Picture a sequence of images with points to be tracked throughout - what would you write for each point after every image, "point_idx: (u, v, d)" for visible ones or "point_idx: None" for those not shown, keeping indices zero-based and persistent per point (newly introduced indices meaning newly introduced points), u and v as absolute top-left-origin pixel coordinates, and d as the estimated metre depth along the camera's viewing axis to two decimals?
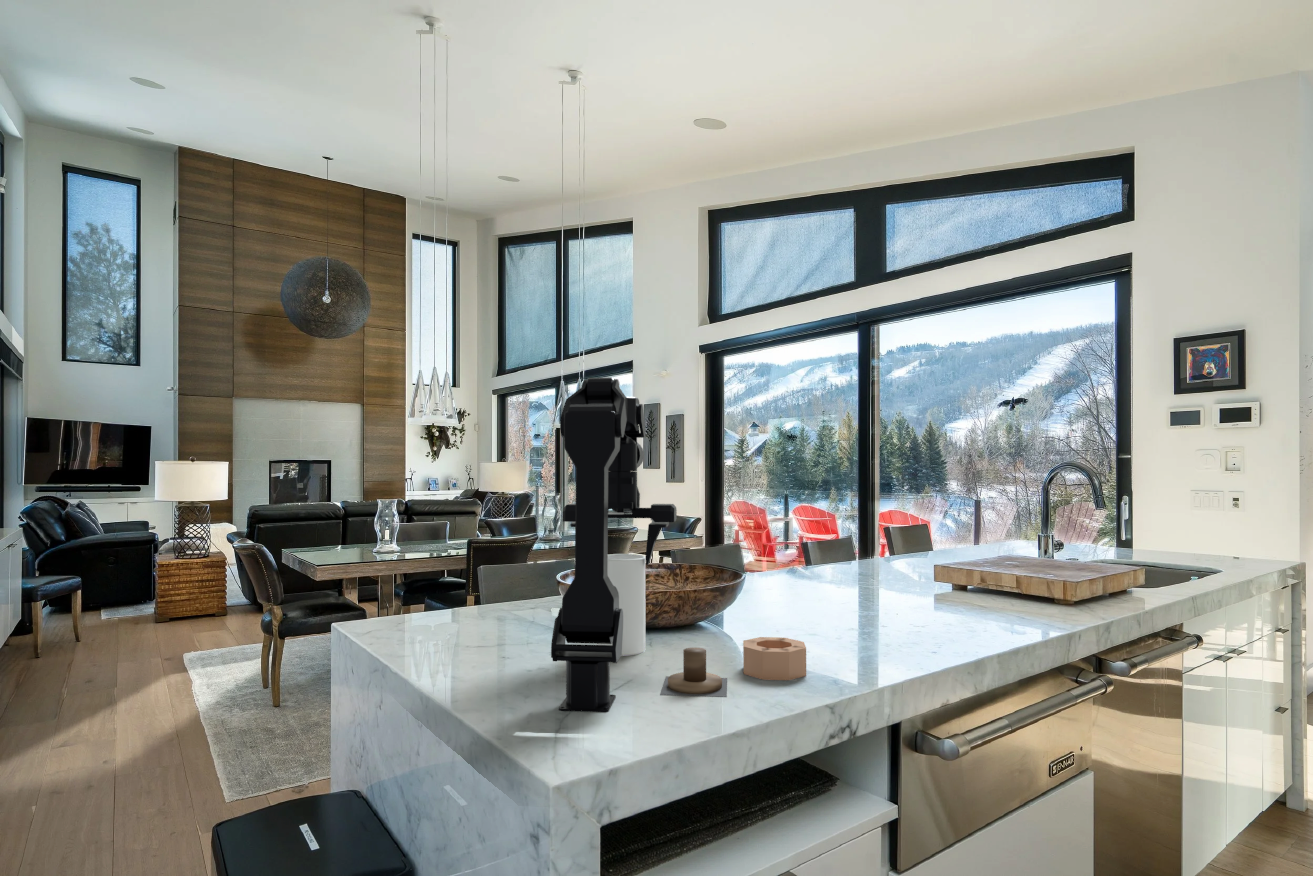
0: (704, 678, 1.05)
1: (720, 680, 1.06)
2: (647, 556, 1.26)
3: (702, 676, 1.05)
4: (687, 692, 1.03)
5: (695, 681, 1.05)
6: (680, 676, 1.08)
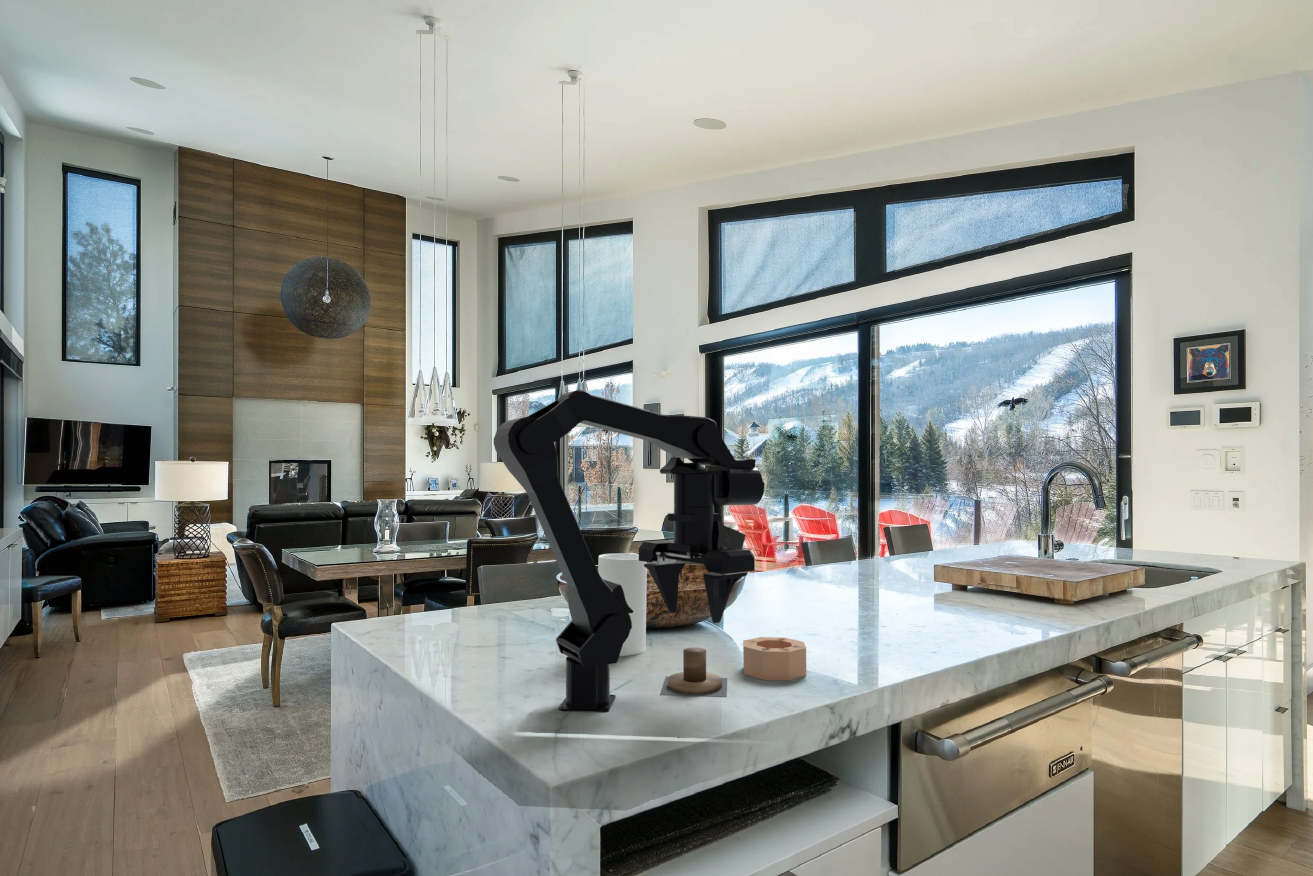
0: (704, 678, 1.05)
1: (720, 680, 1.06)
2: (711, 612, 1.02)
3: (702, 676, 1.05)
4: (687, 692, 1.03)
5: (695, 681, 1.05)
6: (680, 676, 1.08)
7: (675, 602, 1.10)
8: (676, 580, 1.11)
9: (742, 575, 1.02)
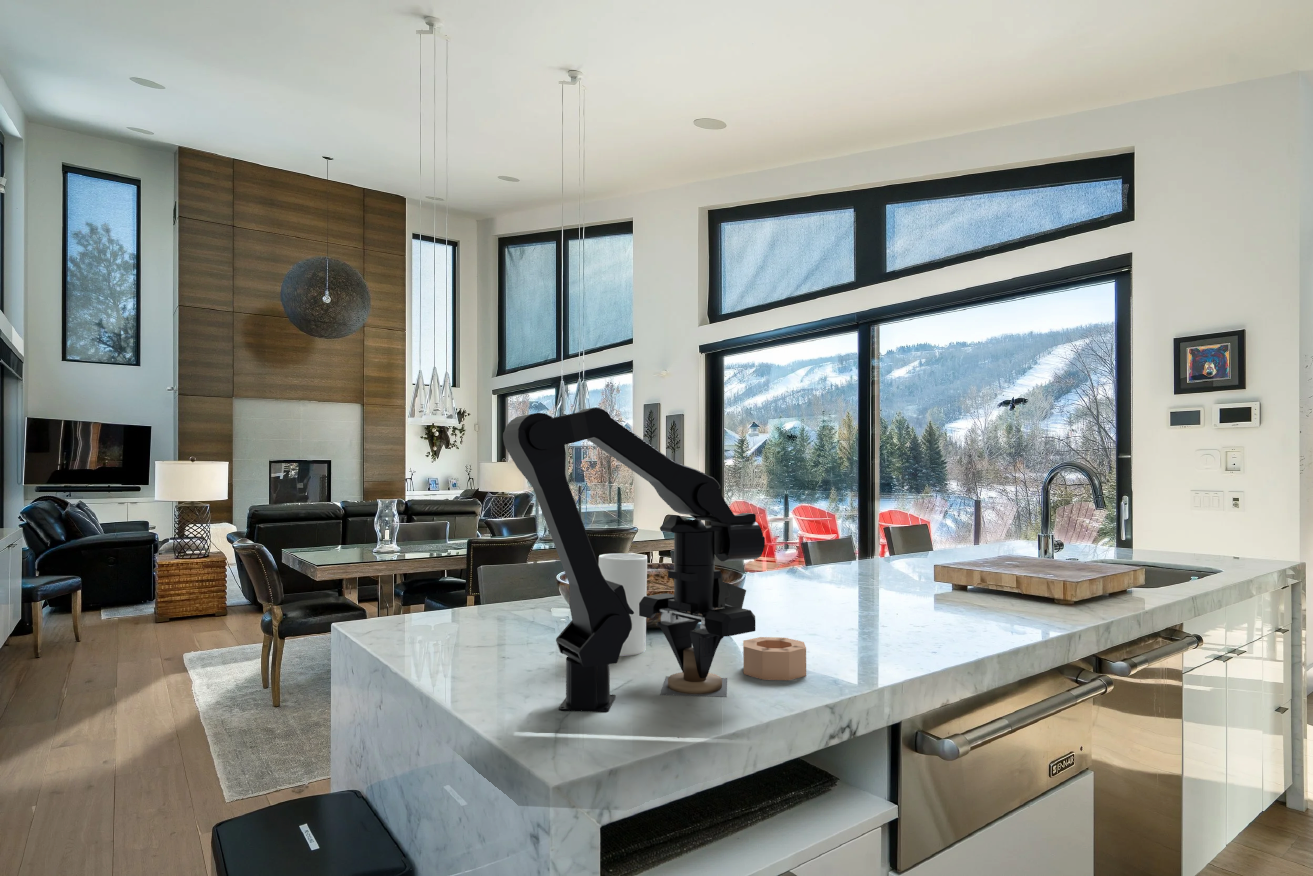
0: (704, 678, 1.05)
1: (720, 680, 1.06)
2: (698, 668, 1.04)
3: None
4: (687, 692, 1.03)
5: (695, 681, 1.05)
6: (680, 676, 1.08)
7: None
8: (689, 639, 1.09)
9: None
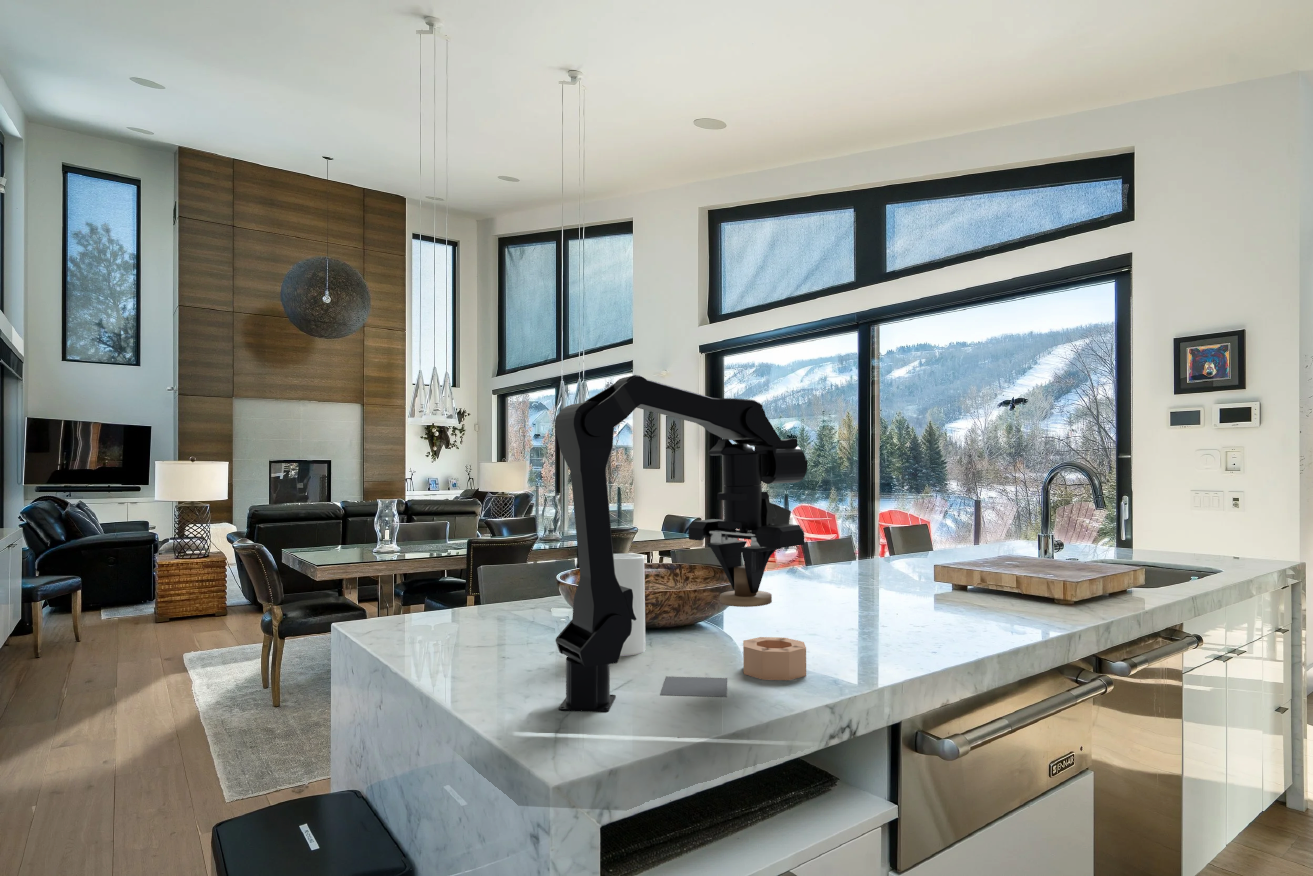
0: (755, 593, 1.11)
1: (770, 595, 1.11)
2: (749, 583, 1.09)
3: None
4: (740, 605, 1.08)
5: (746, 596, 1.10)
6: (730, 593, 1.13)
7: None
8: (739, 558, 1.14)
9: (777, 548, 1.09)
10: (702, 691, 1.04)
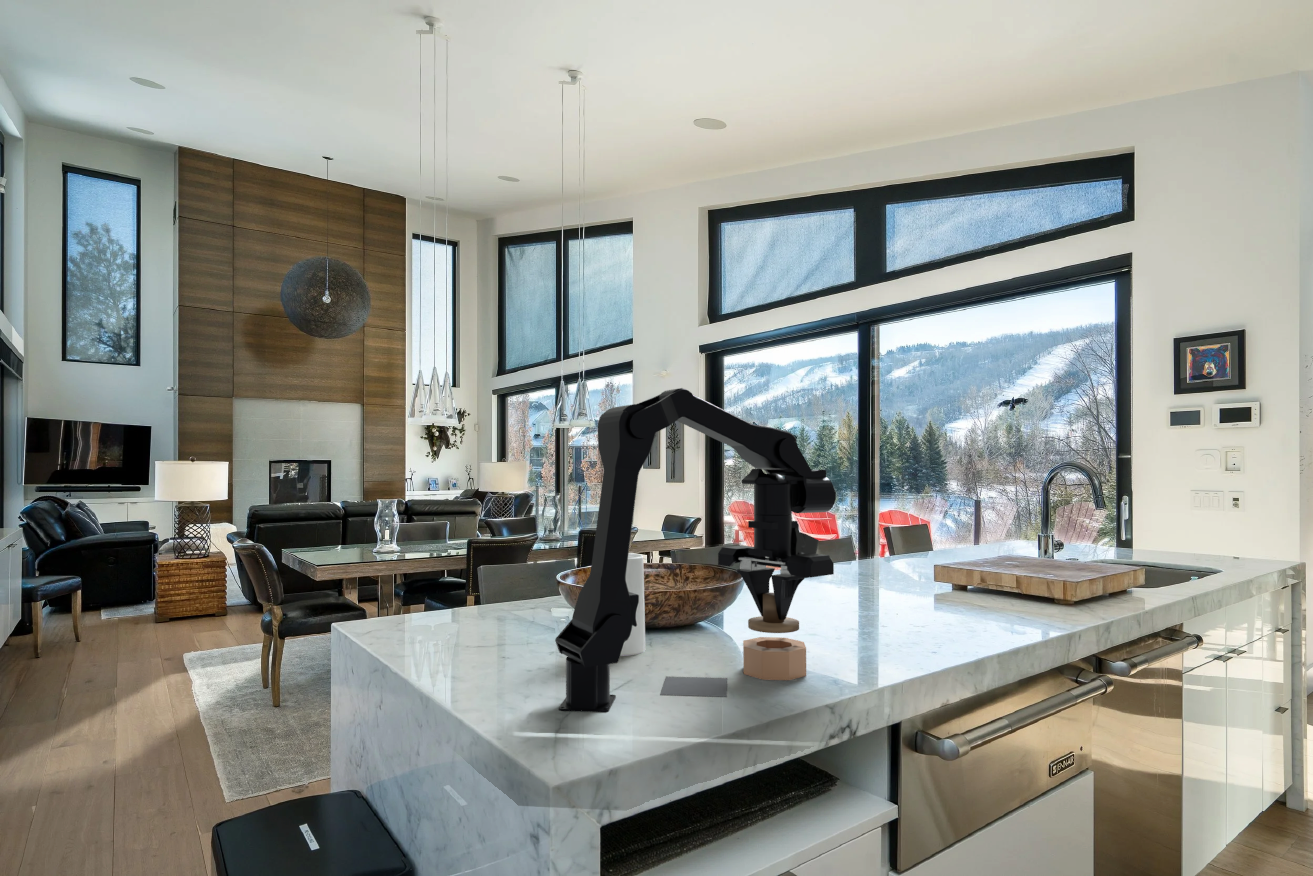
0: (783, 620, 1.13)
1: (797, 622, 1.14)
2: (778, 610, 1.12)
3: None
4: (769, 631, 1.11)
5: (775, 622, 1.13)
6: (758, 619, 1.16)
7: None
8: (767, 585, 1.17)
9: (806, 576, 1.11)
10: (702, 691, 1.04)
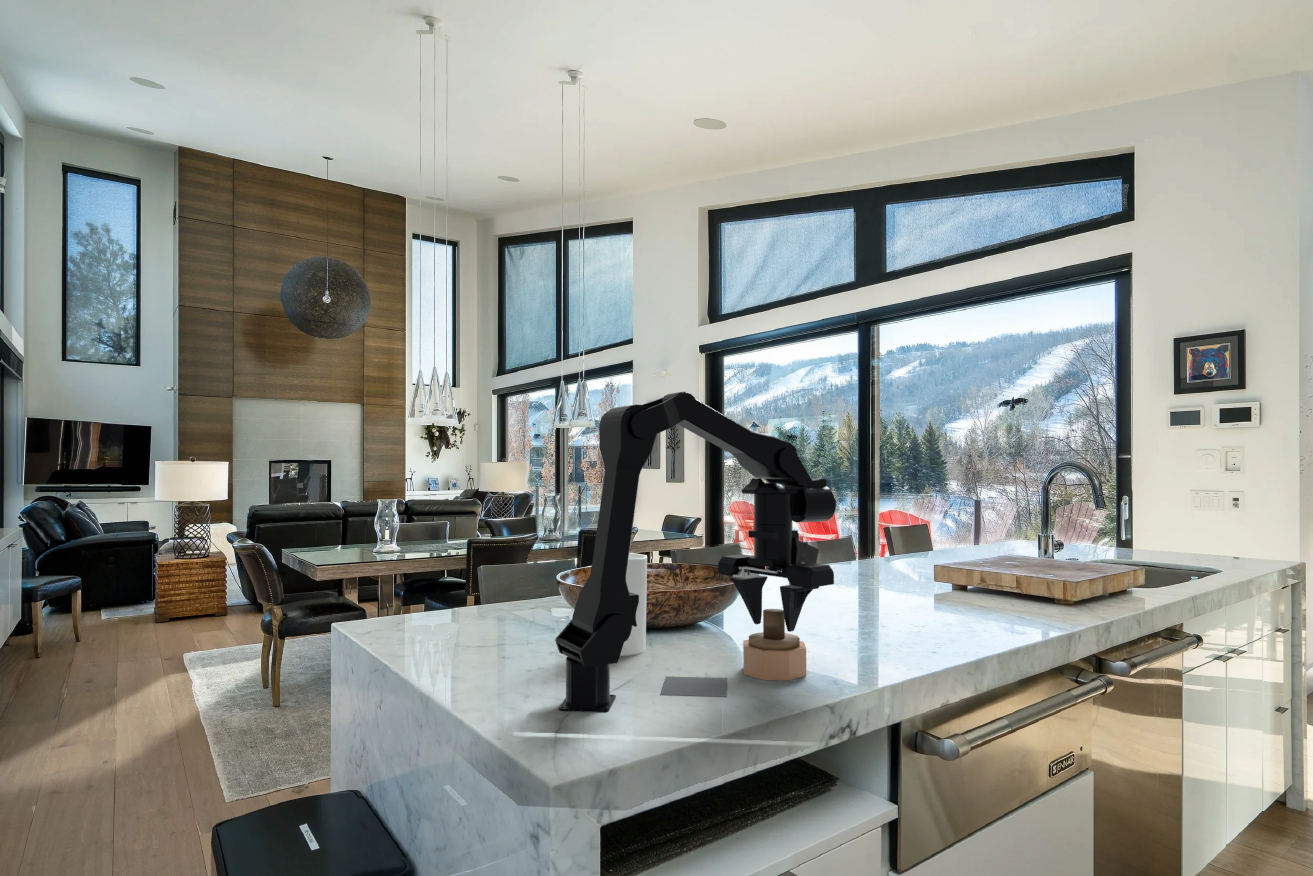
0: (783, 636, 1.13)
1: (798, 638, 1.14)
2: (786, 622, 1.11)
3: (781, 635, 1.13)
4: (769, 648, 1.11)
5: (775, 639, 1.13)
6: (759, 635, 1.16)
7: (759, 614, 1.17)
8: (760, 593, 1.18)
9: (815, 587, 1.10)
10: (702, 691, 1.04)
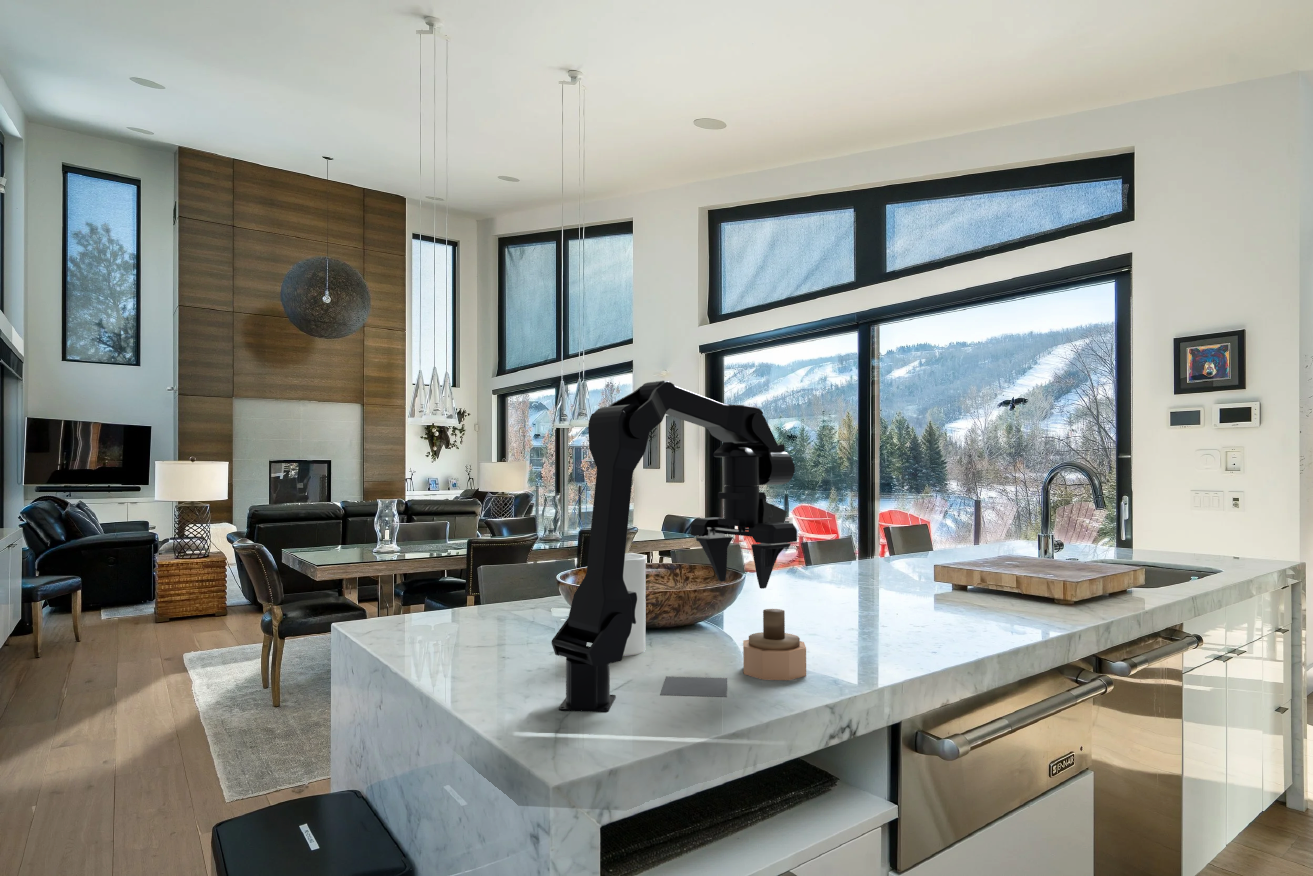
0: (783, 636, 1.13)
1: (798, 638, 1.14)
2: (758, 579, 1.15)
3: (781, 635, 1.13)
4: (769, 648, 1.11)
5: (775, 639, 1.13)
6: (759, 635, 1.16)
7: (724, 572, 1.24)
8: (725, 552, 1.24)
9: (786, 546, 1.15)
10: (702, 691, 1.04)
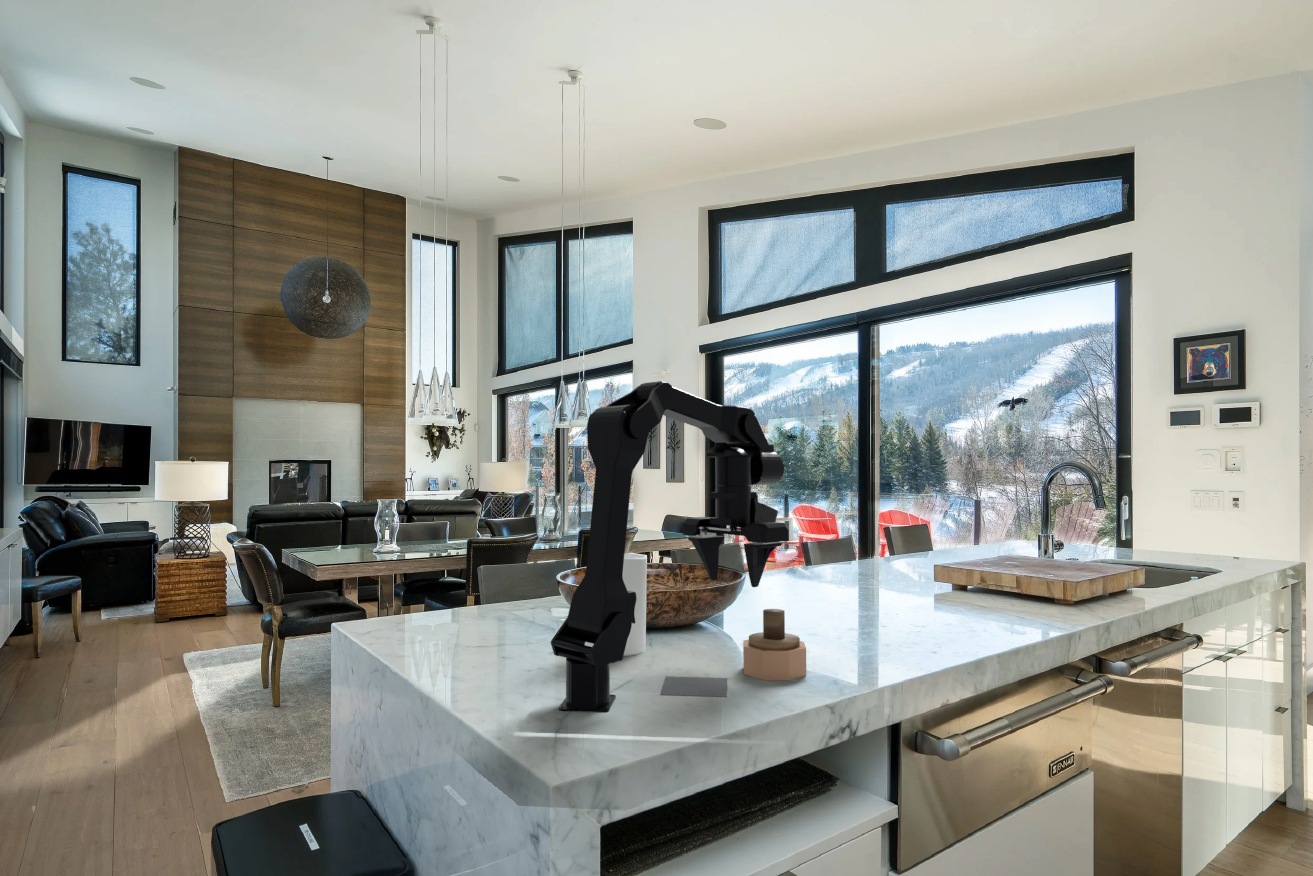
0: (783, 636, 1.13)
1: (798, 638, 1.14)
2: (750, 578, 1.17)
3: (781, 635, 1.13)
4: (769, 648, 1.11)
5: (775, 639, 1.13)
6: (759, 635, 1.16)
7: (716, 571, 1.25)
8: (716, 551, 1.26)
9: (778, 545, 1.16)
10: (702, 691, 1.04)
